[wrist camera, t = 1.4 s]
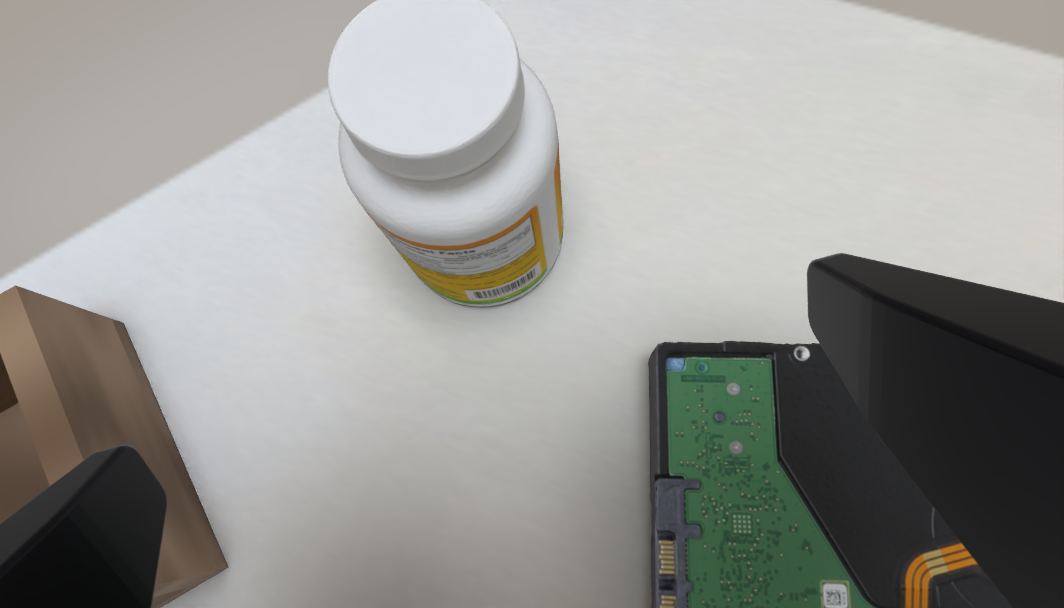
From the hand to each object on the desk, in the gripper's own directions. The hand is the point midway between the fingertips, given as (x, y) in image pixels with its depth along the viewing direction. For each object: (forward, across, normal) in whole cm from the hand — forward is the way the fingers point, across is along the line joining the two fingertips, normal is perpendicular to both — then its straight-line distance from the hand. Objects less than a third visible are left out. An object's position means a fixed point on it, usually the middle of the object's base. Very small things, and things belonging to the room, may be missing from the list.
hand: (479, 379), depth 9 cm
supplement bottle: (+14, 0, +4) cm, 15 cm away
